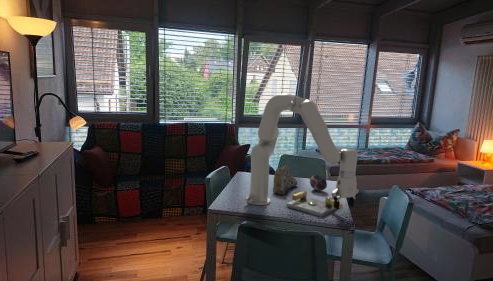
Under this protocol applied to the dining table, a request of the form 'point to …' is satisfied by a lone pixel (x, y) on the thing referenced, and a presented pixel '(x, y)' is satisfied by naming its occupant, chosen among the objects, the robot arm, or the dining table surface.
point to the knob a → (300, 195)
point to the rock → (283, 180)
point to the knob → (331, 202)
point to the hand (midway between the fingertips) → (343, 207)
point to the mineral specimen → (318, 182)
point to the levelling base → (311, 206)
